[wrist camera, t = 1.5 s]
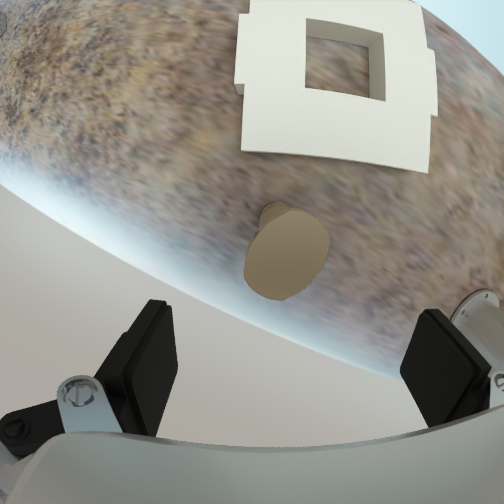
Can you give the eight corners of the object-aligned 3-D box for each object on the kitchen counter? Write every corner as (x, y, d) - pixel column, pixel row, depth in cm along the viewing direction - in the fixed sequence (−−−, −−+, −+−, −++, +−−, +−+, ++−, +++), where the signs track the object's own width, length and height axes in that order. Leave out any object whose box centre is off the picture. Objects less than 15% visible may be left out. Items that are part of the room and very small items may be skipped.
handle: (243, 225, 34) (229, 276, 19) (274, 179, 32) (285, 196, 18) (277, 247, 34) (287, 311, 20) (309, 203, 32) (344, 239, 18)
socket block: (413, 171, 31) (434, 175, 26) (235, 151, 31) (230, 149, 26) (410, 21, 24) (427, 8, 19) (245, -8, 24) (243, -29, 19)
